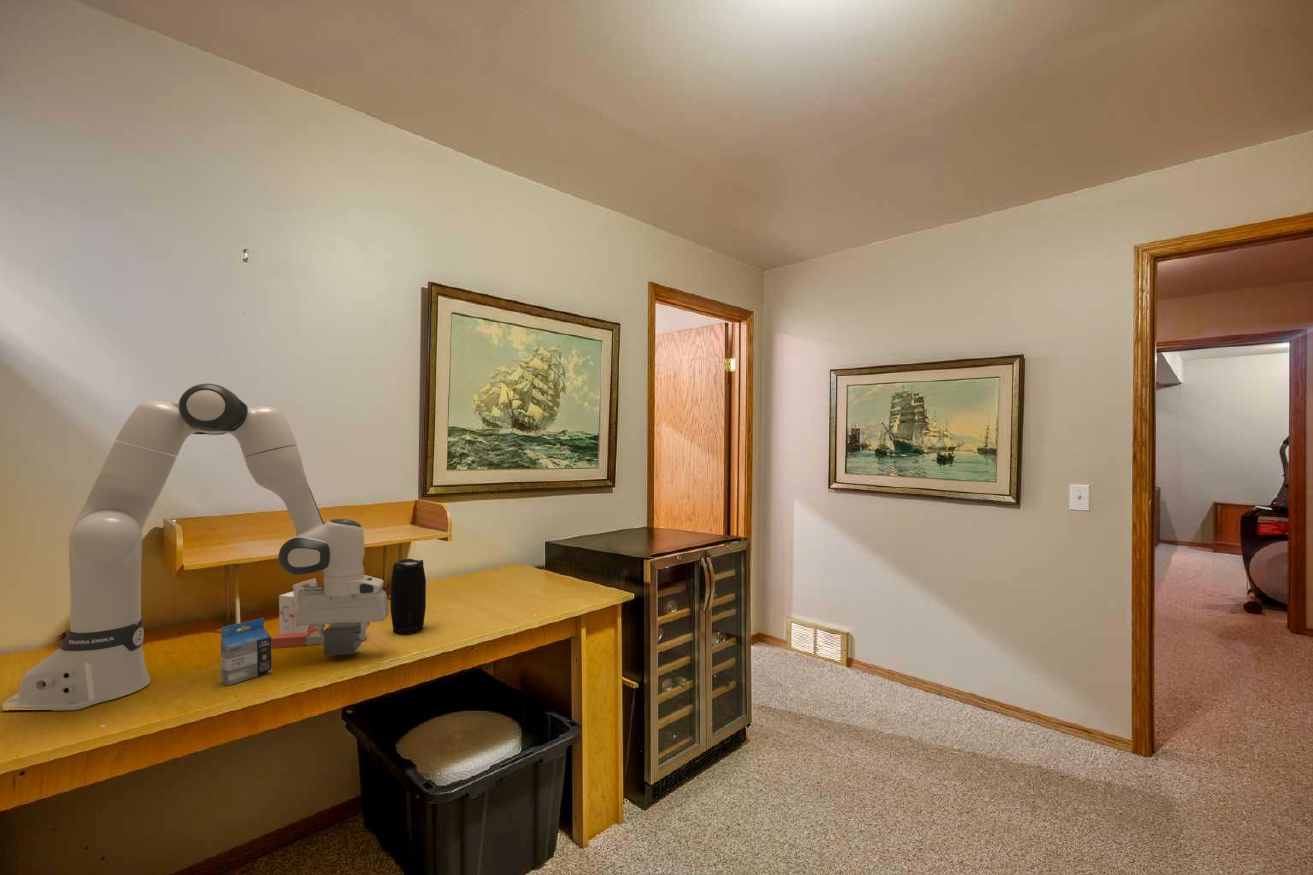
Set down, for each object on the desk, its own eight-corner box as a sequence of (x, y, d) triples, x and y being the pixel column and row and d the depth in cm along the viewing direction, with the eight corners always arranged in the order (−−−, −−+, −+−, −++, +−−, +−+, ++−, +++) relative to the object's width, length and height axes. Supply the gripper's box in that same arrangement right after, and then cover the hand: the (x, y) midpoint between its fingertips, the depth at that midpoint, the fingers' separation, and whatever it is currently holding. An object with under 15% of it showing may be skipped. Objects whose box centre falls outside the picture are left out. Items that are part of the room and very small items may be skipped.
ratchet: (267, 651, 148) (267, 625, 148) (279, 640, 156) (279, 616, 156) (361, 644, 154) (361, 619, 154) (368, 634, 161) (369, 610, 161)
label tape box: (228, 686, 128) (228, 630, 128) (219, 682, 130) (220, 627, 130) (272, 673, 135) (272, 619, 135) (263, 669, 137) (263, 616, 137)
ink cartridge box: (303, 628, 166) (303, 576, 166) (318, 629, 166) (318, 577, 165) (278, 638, 158) (278, 583, 158) (293, 639, 157) (293, 584, 157)
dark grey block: (323, 655, 141) (324, 630, 141) (332, 646, 147) (332, 622, 148) (353, 653, 143) (354, 629, 143) (360, 644, 149) (361, 620, 149)
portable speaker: (396, 626, 169) (396, 558, 169) (429, 625, 170) (430, 557, 170) (385, 636, 160) (386, 564, 160) (420, 635, 161) (421, 564, 161)
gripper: (292, 589, 140) (291, 647, 140) (385, 586, 144) (384, 642, 144) (302, 583, 146) (301, 638, 146) (390, 580, 151) (389, 633, 150)
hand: (343, 640), depth 145 cm, fingers closed on dark grey block, 7 cm apart
